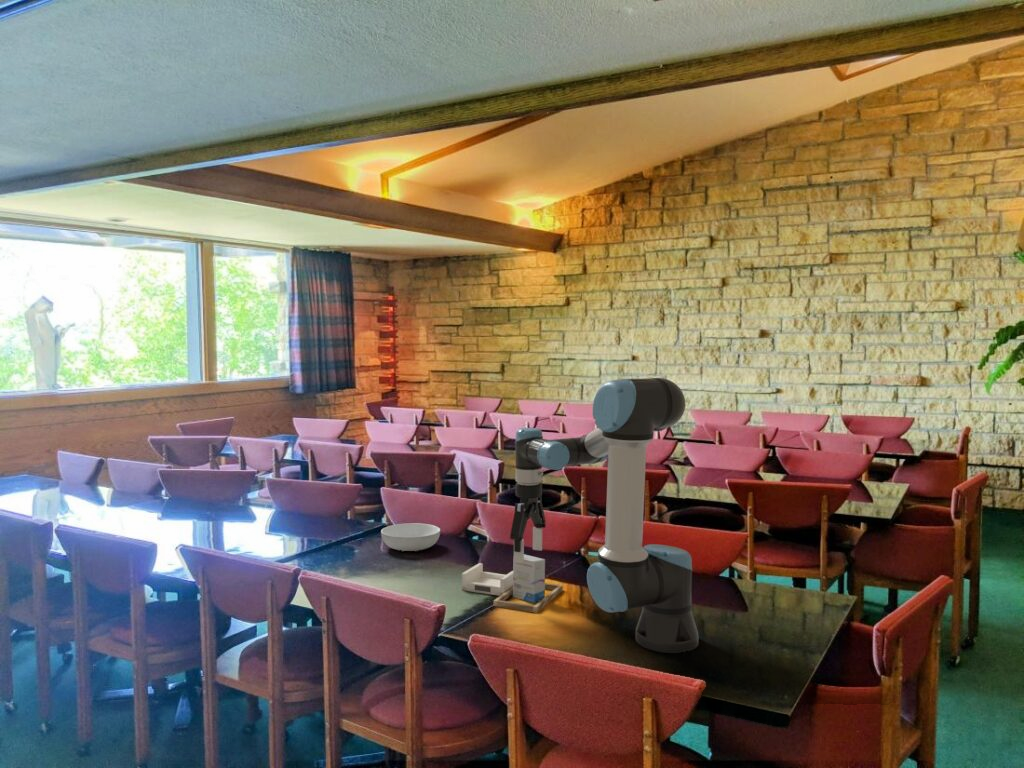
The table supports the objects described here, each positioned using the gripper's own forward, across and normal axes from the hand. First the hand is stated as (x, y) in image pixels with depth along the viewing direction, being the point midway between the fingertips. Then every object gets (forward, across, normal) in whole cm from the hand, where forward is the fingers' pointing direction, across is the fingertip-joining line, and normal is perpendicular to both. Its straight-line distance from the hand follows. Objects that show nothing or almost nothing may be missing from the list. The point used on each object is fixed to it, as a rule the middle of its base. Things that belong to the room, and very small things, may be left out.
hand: (528, 556), depth 214 cm
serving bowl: (+13, +31, +58) cm, 67 cm away
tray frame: (+12, 0, 0) cm, 12 cm away
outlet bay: (+12, +4, +14) cm, 19 cm away
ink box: (+12, 0, 0) cm, 12 cm away
